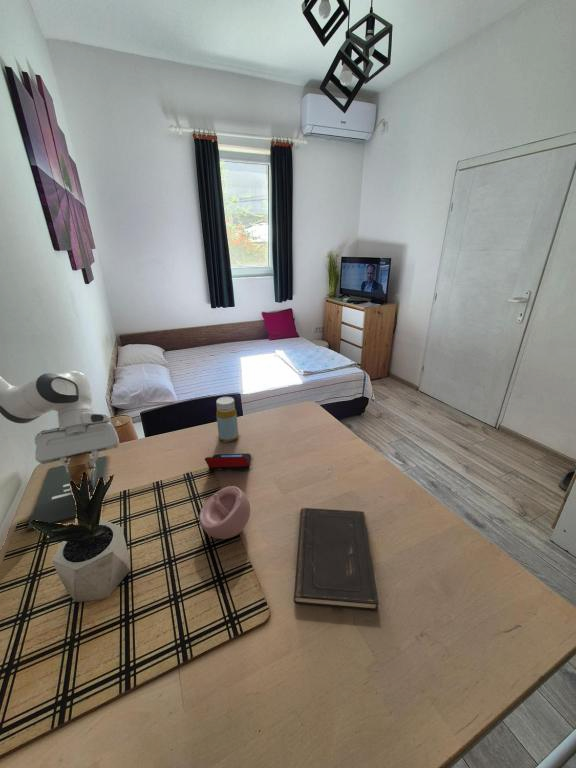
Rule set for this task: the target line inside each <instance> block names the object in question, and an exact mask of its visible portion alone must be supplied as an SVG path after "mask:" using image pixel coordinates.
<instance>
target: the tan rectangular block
mask: <svg viewBox="0 0 576 768" xmlns="http://www.w3.org/2000/svg"><path fill="white" fill-rule="evenodd" d="M91 459H92V458H91V454H89V452H85V453H80V454H76V455H71V458H69V462H68V464H69V465H68V470H69V473H70V475H71V478H72V481H73V482H75V484H76V486H77V487H78V488H80V484H81V478H82V473H83V472H86V474H87V477H88V485H89V491H91V490H94V485H95V479H96V472H97V467H96V468H93V469H89V465H88V462H91Z"/></svg>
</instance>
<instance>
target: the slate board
mask: <svg viewBox="0 0 576 768" xmlns="http://www.w3.org/2000/svg"><path fill="white" fill-rule="evenodd" d="M90 459H91V461H92V459H93V458H90ZM107 461H108V456H107V455H103V456H98V458H97V460H96V462H95V464H96V467H97V472H96V479H95V485H94V490H95V487H96V485H97V482H98V479H99V478H100V477H103V478H104V480H105V478H106V468H107V463H108V462H107ZM67 464H68V465H69V463H67ZM70 481H72V478H71V475H70V474H67V473H66V467H65V466H64V465H63V464H61V465H58V466H54V467H50V468H48V470H47V473H46V476H45V479H44V481H43V484H42V487H41V489H40V492H39V495H38V498H37V500H36V503H35V505H34V508H33V511H32V514H31V517H30V520H29V521H28V524H27V528H26V531H27V532H31V531H35V530H36V529H34V528H33V526H32V524H31V522H32V521H33V520H39V521H44V522H48V523H53V525H56V524H59V523H64V522H66V521H70V520H74V519H77V517H76V505H75V500H74V498H73V495H72V492H71V489H70ZM94 490H91V491H89V492H90V497H91V496H92V494H93V492H94Z"/></svg>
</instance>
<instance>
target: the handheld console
mask: <svg viewBox="0 0 576 768" xmlns="http://www.w3.org/2000/svg"><path fill="white" fill-rule="evenodd" d="M251 458H252V455H251V453H216V454H213V455H212V456H210V457H205V458H204V461H205V463H206V465H207V466H208V470H209V471H211V472H212V471H214V472H215V471H228V470H231V471H240V470H241V471H242V470H245V471H247V470H249V469H250V466H251Z"/></svg>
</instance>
